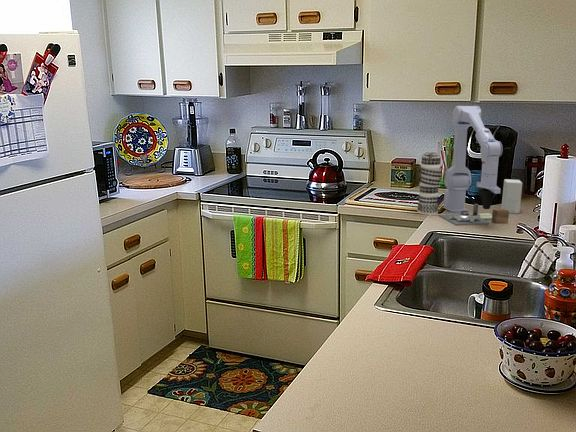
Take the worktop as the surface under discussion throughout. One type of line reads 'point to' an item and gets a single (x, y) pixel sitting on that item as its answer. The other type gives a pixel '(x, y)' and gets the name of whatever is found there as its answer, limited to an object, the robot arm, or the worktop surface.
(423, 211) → the decorative candle
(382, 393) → the worktop surface
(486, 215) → the timing pad
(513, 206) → the small box
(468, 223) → the slate board
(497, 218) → the link block
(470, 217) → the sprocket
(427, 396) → the worktop surface
